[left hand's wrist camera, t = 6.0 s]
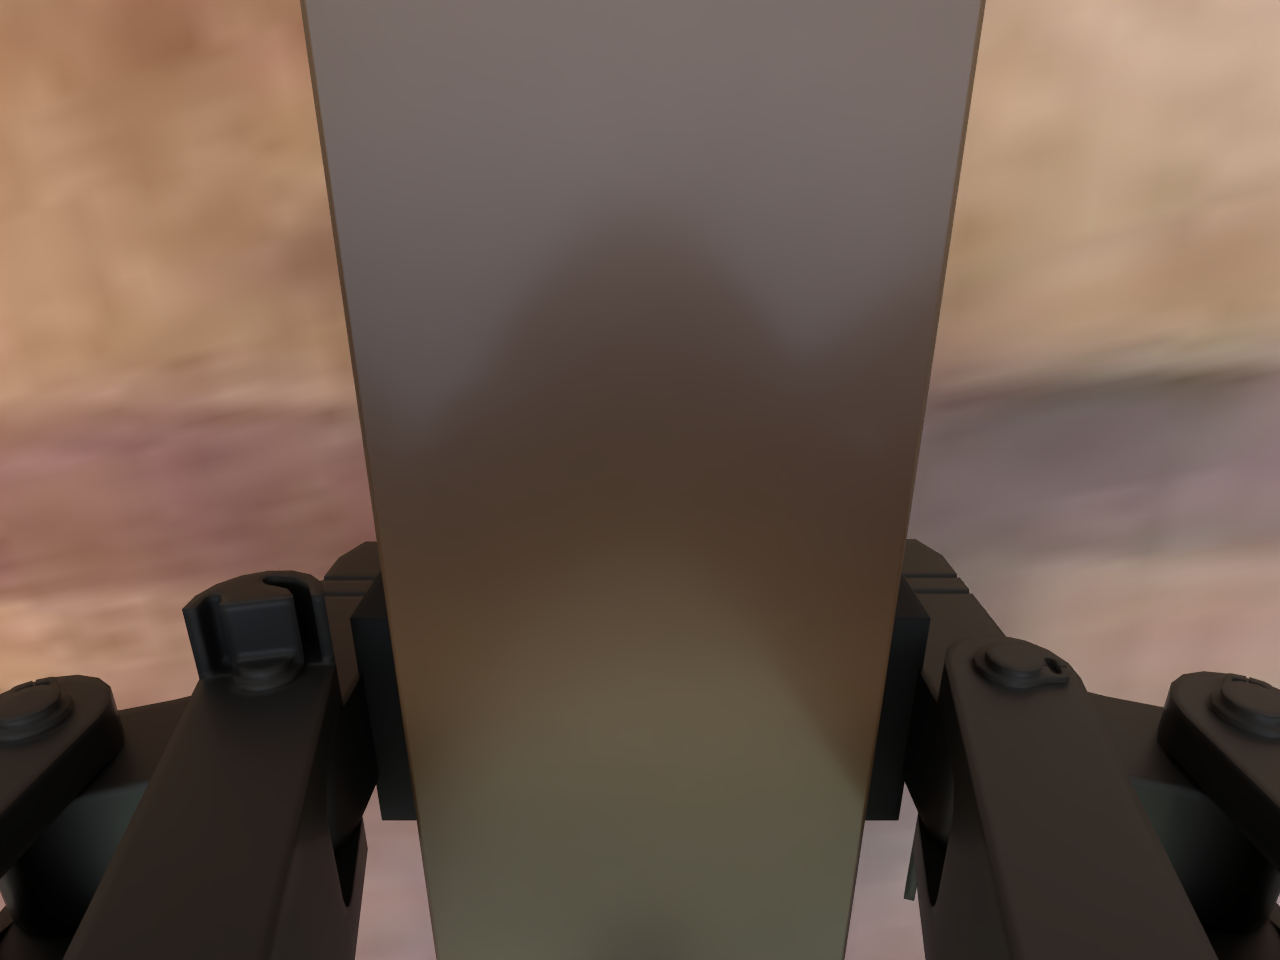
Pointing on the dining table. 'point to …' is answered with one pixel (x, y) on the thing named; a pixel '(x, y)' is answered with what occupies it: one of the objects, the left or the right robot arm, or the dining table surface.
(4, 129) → the dining table surface
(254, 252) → the dining table surface
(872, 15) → the wooden plank
